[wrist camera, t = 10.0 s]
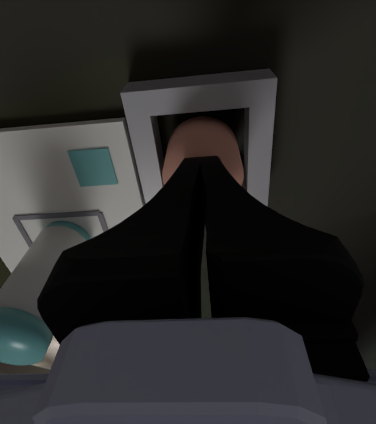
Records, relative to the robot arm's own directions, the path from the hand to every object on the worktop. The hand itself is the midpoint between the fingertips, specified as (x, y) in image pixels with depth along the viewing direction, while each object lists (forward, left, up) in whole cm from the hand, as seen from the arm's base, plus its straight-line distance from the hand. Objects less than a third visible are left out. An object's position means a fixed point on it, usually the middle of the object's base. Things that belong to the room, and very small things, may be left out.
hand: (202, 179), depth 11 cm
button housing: (0, 0, -4) cm, 4 cm away
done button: (0, 0, -3) cm, 3 cm away
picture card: (-7, +8, -4) cm, 11 cm away
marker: (-5, +8, -3) cm, 11 cm away
